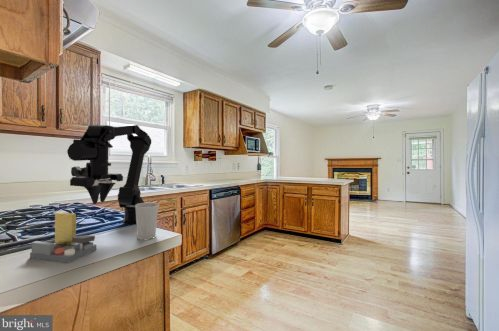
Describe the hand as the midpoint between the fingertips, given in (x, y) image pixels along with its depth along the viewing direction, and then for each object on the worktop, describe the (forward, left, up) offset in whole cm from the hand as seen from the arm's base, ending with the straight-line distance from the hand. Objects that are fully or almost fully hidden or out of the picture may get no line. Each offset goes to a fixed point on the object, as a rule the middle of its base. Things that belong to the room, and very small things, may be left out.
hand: (98, 202), depth 89 cm
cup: (+7, +16, -12) cm, 21 cm away
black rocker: (+15, -2, -8) cm, 17 cm away
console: (+14, -7, -12) cm, 20 cm away
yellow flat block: (+11, -8, -10) cm, 17 cm away
